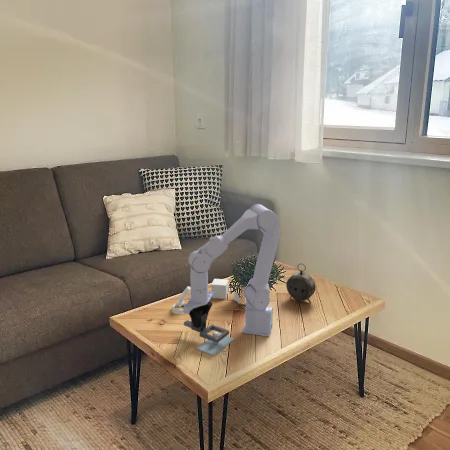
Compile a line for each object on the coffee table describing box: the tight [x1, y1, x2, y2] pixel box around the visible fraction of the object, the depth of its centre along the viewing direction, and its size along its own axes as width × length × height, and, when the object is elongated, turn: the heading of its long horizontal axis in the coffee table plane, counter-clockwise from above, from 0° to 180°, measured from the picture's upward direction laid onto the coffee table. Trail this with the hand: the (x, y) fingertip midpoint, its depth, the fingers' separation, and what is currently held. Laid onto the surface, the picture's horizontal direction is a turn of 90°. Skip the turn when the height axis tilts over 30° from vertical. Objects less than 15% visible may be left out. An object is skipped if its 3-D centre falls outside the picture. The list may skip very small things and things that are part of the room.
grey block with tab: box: [183, 312, 230, 343], centre depth 154 cm, size 16×7×6 cm, turn 56°
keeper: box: [195, 331, 235, 356], centre depth 153 cm, size 7×12×4 cm, turn 146°
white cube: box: [210, 278, 230, 300], centre depth 189 cm, size 6×6×6 cm
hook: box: [170, 285, 191, 315], centre depth 176 cm, size 8×12×7 cm
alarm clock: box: [286, 263, 316, 304], centre depth 182 cm, size 11×5×16 cm, turn 58°
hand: (199, 324), depth 155 cm, fingers closed on grey block with tab, 3 cm apart
